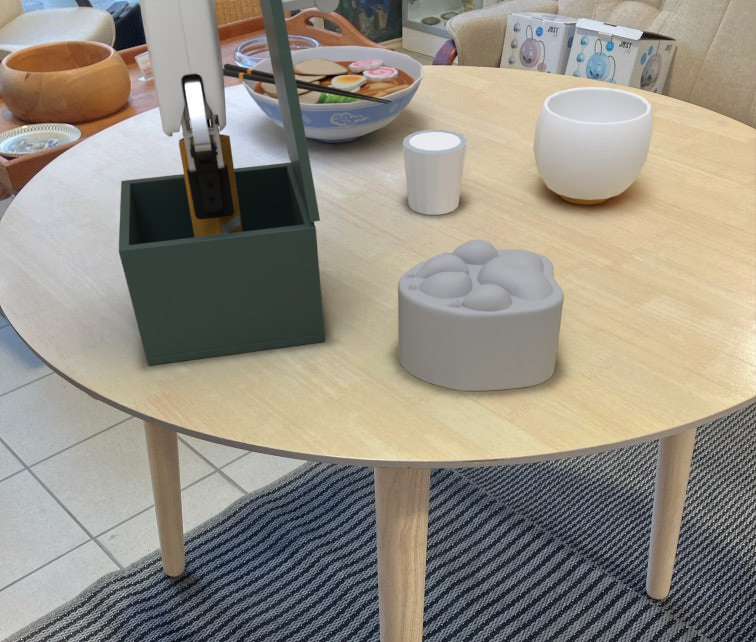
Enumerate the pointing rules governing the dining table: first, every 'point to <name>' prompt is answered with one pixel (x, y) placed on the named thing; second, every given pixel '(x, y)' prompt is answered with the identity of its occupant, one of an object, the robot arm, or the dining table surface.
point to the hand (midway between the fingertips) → (212, 200)
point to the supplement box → (231, 222)
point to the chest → (221, 269)
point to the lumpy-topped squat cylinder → (480, 318)
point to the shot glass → (434, 170)
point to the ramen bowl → (338, 89)
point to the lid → (291, 90)
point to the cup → (592, 142)
